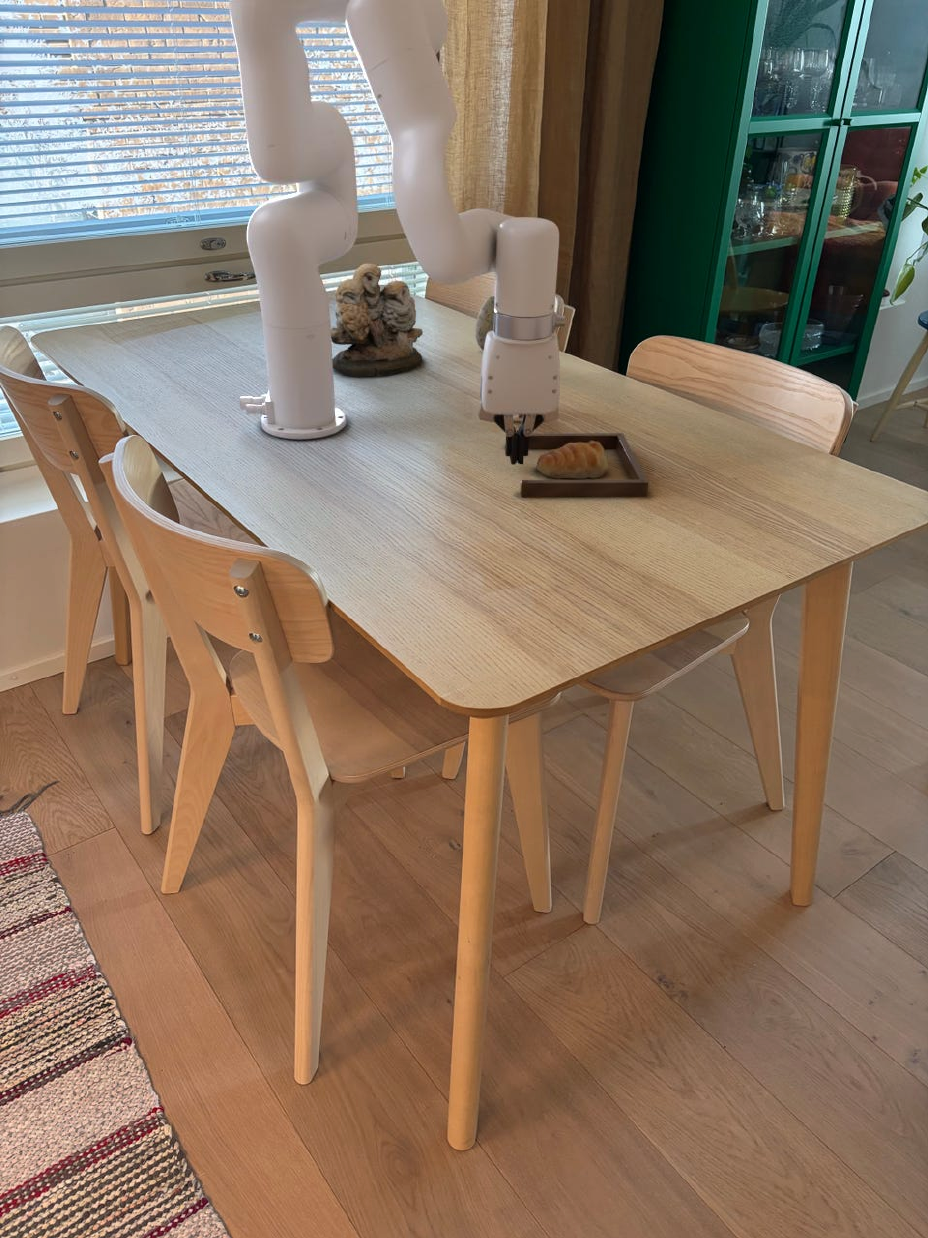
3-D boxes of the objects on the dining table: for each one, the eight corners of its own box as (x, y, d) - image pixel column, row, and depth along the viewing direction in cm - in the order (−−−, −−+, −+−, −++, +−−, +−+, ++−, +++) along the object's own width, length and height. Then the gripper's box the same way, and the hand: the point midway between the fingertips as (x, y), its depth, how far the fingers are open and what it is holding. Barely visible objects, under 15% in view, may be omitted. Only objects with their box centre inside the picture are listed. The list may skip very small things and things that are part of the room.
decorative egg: (469, 354, 174) (471, 298, 168) (481, 345, 179) (483, 290, 173) (500, 358, 172) (502, 302, 167) (511, 349, 177) (514, 294, 171)
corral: (521, 497, 124) (521, 483, 123) (508, 446, 138) (509, 433, 137) (647, 496, 125) (648, 482, 123) (621, 445, 139) (623, 432, 138)
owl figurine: (347, 384, 159) (342, 278, 150) (313, 365, 167) (306, 263, 158) (436, 365, 168) (436, 264, 159) (399, 348, 176) (398, 251, 167)
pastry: (546, 484, 127) (548, 457, 125) (528, 465, 132) (529, 439, 130) (610, 477, 129) (613, 450, 127) (590, 458, 135) (592, 432, 133)
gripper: (577, 316, 124) (566, 449, 134) (462, 316, 123) (459, 450, 133) (587, 333, 117) (575, 471, 127) (465, 333, 116) (463, 472, 126)
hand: (516, 460), depth 130 cm, fingers closed
